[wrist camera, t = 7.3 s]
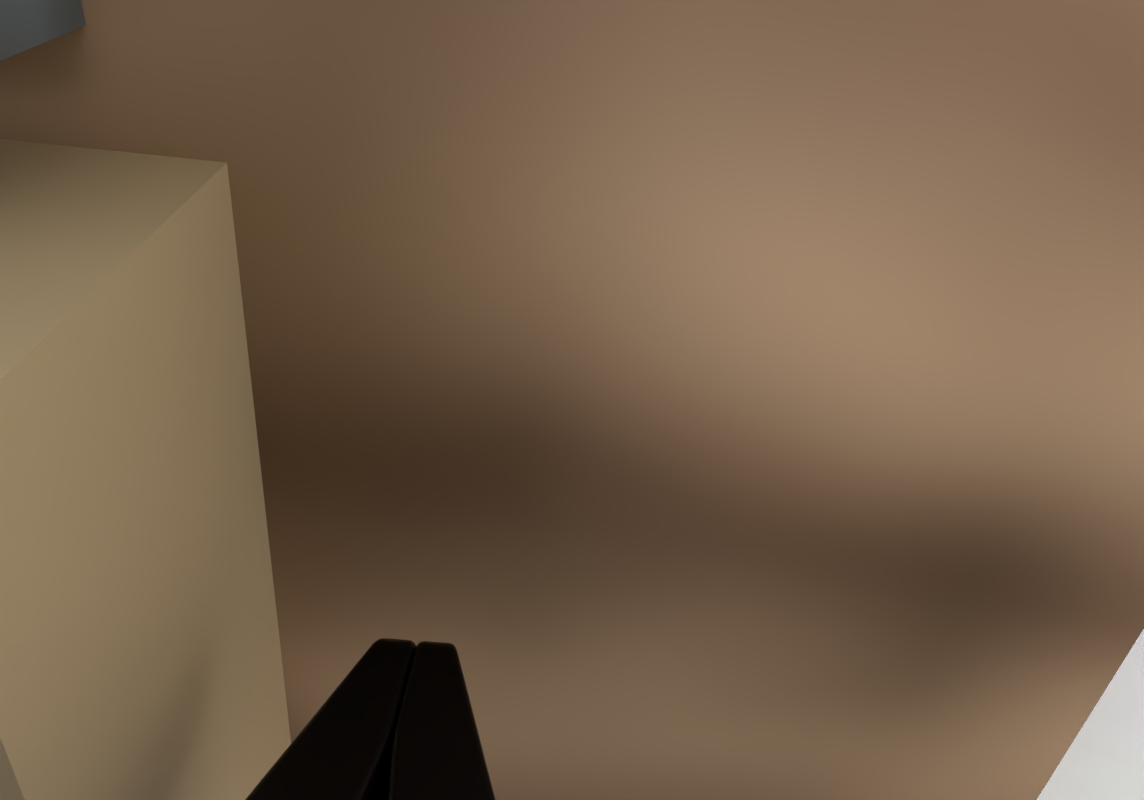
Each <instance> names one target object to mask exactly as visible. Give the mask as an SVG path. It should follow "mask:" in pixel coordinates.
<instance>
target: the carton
mask: <svg viewBox="0 0 1144 800" xmlns="http://www.w3.org/2000/svg"><path fill="white" fill-rule="evenodd" d="M290 744H291V737H290V728H289V719H288V710H287V701H286V692H285V683H284V674H283V665H282V656H281V647H280V638H279V629H278V619H277V610H276V601H275V592H274V583H273V574H272V565H271V556H270V547H269V538H268V529H267V520H266V511H265V502H264V493H263V484H262V475H261V465H260V456H259V447H258V438H257V429H256V420H255V411H254V402H253V393H252V384H251V375H250V366H249V357H248V348H247V339H246V330H245V320H244V311H243V302H242V293H241V284H240V275H239V266H238V257H237V248H236V239H235V230H234V221H233V212H232V203H231V194H230V185H229V176H228V166H227V162H218V161H208V160H198V159H189V158H179V157H169V156H160V155H150V154H140V153H130V152H121V151H111V150H101V149H92V148H82V147H72V146H63V145H53V144H43V143H33V142H24V141H14V140H4V139H0V800H245V799H246V798H247V797H248V795H249V794H250V793H251V792H252V791H253V789H254V788H255V787H256V786H257V784H258V783H259V782H260V781H261V780H262V778H263V777H264V776H265V775H266V773H267V772H268V771H269V770H270V769H271V767H272V766H273V765H274V764H275V762H276V761H277V760H278V759H279V758H280V756H281V755H282V754H283V753H284V751H285V750H286V749H287V748H288V747H289V745H290Z"/></svg>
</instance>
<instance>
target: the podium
mask: <svg viewBox="0 0 1144 800" xmlns="http://www.w3.org/2000/svg"><path fill="white" fill-rule="evenodd" d="M0 139H4V140H14V141H24V142H33V143H43V144H53V145H63V146H72V147H82V148H92V149H101V150H111V151H121V152H130V153H140V154H150V155H160V156H169V157H179V158H189V159H198V160H208V161H218V162H227V166H228V176H229V185H230V194H231V203H232V212H233V221H234V230H235V239H236V248H237V257H238V266H239V275H240V284H241V293H242V302H243V311H244V320H245V330H246V339H247V348H248V357H249V366H250V375H251V384H252V393H253V402H254V411H255V420H256V429H257V438H258V447H259V456H260V465H261V475H262V484H263V493H264V502H265V511H266V520H267V529H268V538H269V547H270V556H271V565H272V574H273V583H274V592H275V601H276V610H277V619H278V629H279V638H280V647H281V656H282V665H283V674H284V683H285V692H286V701H287V710H288V719H289V728H290V737H291V743H292V742H293V740H294V739H295V738H296V737H297V736H298V734H299V733H300V732H301V731H302V729H303V728H304V727H305V726H306V725H307V723H308V722H309V721H310V720H311V718H312V717H313V716H314V715H315V714H316V712H317V711H318V710H319V709H320V707H321V706H322V705H323V704H324V703H325V701H326V700H327V699H328V698H329V696H330V695H331V694H332V693H333V692H334V690H335V689H336V688H337V687H338V685H339V684H340V683H341V682H342V681H343V679H344V678H345V677H346V676H347V674H348V673H349V672H350V671H351V670H352V668H353V667H354V666H355V665H356V664H357V662H358V661H359V660H360V659H361V657H362V656H363V655H364V654H365V653H366V651H367V650H368V649H369V648H370V646H371V645H372V644H373V643H374V642H375V641H376V640H378V639H381V638H389V639H402V640H411V641H413V642H414V643H415V645H416V646H417V644H418V643H420V642H422V641H429V642H442V643H451V644H453V645H454V646H455V647H456V649H457V652H458V656H459V660H460V664H461V668H462V671H463V675H464V679H465V683H466V687H467V691H468V695H469V699H470V703H471V706H472V710H473V714H474V718H475V722H476V726H477V730H478V734H479V738H480V741H481V745H482V749H483V753H484V757H485V761H486V765H487V769H488V772H489V776H490V780H491V784H492V788H493V792H494V796H495V800H1036V799H1037V798H1038V796H1039V795H1040V793H1041V791H1042V790H1043V788H1044V787H1045V785H1046V783H1047V782H1048V780H1049V779H1050V777H1051V775H1052V774H1053V772H1054V771H1055V769H1056V767H1057V766H1058V764H1059V763H1060V761H1061V759H1062V758H1063V756H1064V755H1065V753H1066V751H1067V750H1068V748H1069V747H1070V745H1071V744H1072V742H1073V740H1074V739H1075V737H1076V736H1077V734H1078V732H1079V731H1080V729H1081V728H1082V726H1083V724H1084V723H1085V721H1086V720H1087V718H1088V716H1089V715H1090V713H1091V712H1092V710H1093V708H1094V707H1095V705H1096V704H1097V702H1098V700H1099V699H1100V697H1101V696H1102V694H1103V692H1104V691H1105V689H1106V688H1107V686H1108V684H1109V683H1110V681H1111V680H1112V678H1113V676H1114V675H1115V673H1116V672H1117V670H1118V668H1119V667H1120V665H1121V664H1122V662H1123V661H1124V659H1125V657H1126V656H1127V654H1128V653H1129V651H1130V649H1131V648H1132V646H1133V645H1134V643H1135V641H1136V640H1137V638H1138V637H1139V635H1140V633H1141V632H1142V630H1143V629H1144V0H0Z"/></svg>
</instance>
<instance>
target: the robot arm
mask: <svg viewBox="0 0 1144 800" xmlns="http://www.w3.org/2000/svg"><path fill="white" fill-rule="evenodd" d="M245 800H495V796H494V792H493V788H492V784H491V780H490V776H489V772H488V769H487V765H486V761H485V757H484V753H483V749H482V745H481V741H480V738H479V734H478V730H477V726H476V722H475V718H474V714H473V710H472V706H471V703H470V699H469V695H468V691H467V687H466V683H465V679H464V675H463V671H462V668H461V664H460V660H459V656H458V652H457V649H456V647H455V646H454V645H453V644H451V643H442V642H429V641H422V642H420V643H418V644H417V646H416V645H415V643H414V642H413V641H411V640H402V639H389V638H381V639H378V640H376V641H375V642H374V643H373V644H372V645H371V646H370V648H369V649H368V650H367V651H366V653H365V654H364V655H363V656H362V657H361V659H360V660H359V661H358V662H357V664H356V665H355V666H354V667H353V668H352V670H351V671H350V672H349V673H348V674H347V676H346V677H345V678H344V679H343V681H342V682H341V683H340V684H339V685H338V687H337V688H336V689H335V690H334V692H333V693H332V694H331V695H330V696H329V698H328V699H327V700H326V701H325V703H324V704H323V705H322V706H321V707H320V709H319V710H318V711H317V712H316V714H315V715H314V716H313V717H312V718H311V720H310V721H309V722H308V723H307V725H306V726H305V727H304V728H303V729H302V731H301V732H300V733H299V734H298V736H297V737H296V738H295V739H294V740H293V742H292V743H291V744H290V745H289V747H288V748H287V749H286V750H285V751H284V753H283V754H282V755H281V756H280V758H279V759H278V760H277V761H276V762H275V764H274V765H273V766H272V767H271V769H270V770H269V771H268V772H267V773H266V775H265V776H264V777H263V778H262V780H261V781H260V782H259V783H258V784H257V786H256V787H255V788H254V789H253V791H252V792H251V793H250V794H249V795H248V797H247V798H246V799H245Z"/></svg>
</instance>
